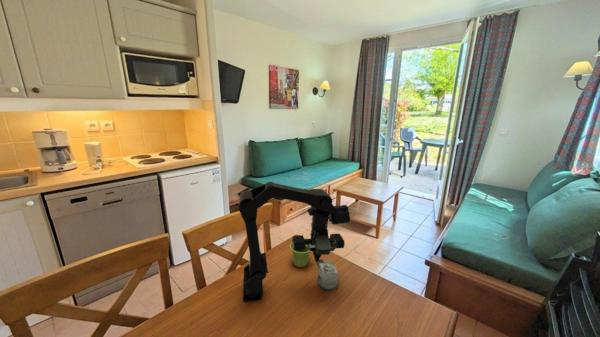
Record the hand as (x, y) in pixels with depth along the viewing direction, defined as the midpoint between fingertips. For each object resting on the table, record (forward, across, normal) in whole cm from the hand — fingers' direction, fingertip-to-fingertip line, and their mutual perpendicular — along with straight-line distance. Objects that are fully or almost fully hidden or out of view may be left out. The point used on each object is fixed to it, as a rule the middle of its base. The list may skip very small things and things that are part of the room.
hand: (316, 261), depth 90 cm
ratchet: (+11, +5, +4) cm, 13 cm away
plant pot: (+11, -3, +13) cm, 17 cm away
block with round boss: (+9, +5, 0) cm, 10 cm away
